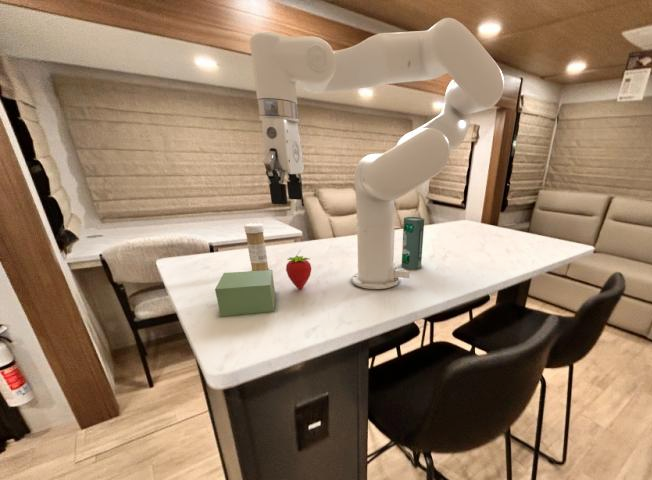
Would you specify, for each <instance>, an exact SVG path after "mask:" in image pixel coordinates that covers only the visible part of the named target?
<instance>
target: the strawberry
mask: <svg viewBox="0 0 652 480" xmlns="http://www.w3.org/2000/svg"><path fill="white" fill-rule="evenodd" d="M301 251H302V250H299V252H298V253H297V254H296V255H295V256H294V257H289V258H287V259H286V260H288V262H287V264H286V266H285V272H286V274H287V276H288V278H289V280H290V281H291V283H292V284H293V285H294V286H295V287H296V288H297V289H298V290H302V289H303V288H304V286H305V285H306V284H307V282H308V281H309V279H310V277H311V273H312V266H311V262H309V260H310V258H309V257H304V255H300V256H299V253H300V252H301Z"/></svg>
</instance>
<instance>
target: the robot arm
mask: <svg viewBox="0 0 652 480" xmlns="http://www.w3.org/2000/svg"><path fill="white" fill-rule="evenodd" d="M249 44H250V45H249V47H250V55H251V62H252V63H251V64H252V71H253V78H254V83H255V84H254V85H255V93H256V94H255V95H256V102H257V109H258V116H259V117H258V118H259V121H261V125H262V126H261V127H262V129H261V130H262V144H263V155H264V159H263V166H264V168H265V174H266V177H267V184H268V185H269V187H268V188H269V193H270V202H271V204H272V205H283V206H284V205H285V206H286V205H287V204H288V199H289V200H299V201H301V200H303V199H304V197H303V186H302V185H303V184H302V176H301V174H302V173H303V172H304V170H305V165H304V158H303V150H302V141H301V136H300V131H299V126H298V124H299V123H300V118H299V117H300V116H299V109H298V108H299V106H298V94H297V84H298V86H299V87H300V88H301V89H302V90H304V91H305V92H307V93H310V94H316V95H318V94H327V93H328V94H329V93H338V92H346V91H353V90H358V89H365V88H375V87H378V86H384V85H391V84H401V83H411V82H421V81H430V80H435V79H437V78H438V79H439V78H440V77H442V76H445V75H446V74H448V75H449V77H450V78H451V79H452V80H451V81H450V82H449V83H448V85H447V88H446V90H445V92H444V93H445V94H444V99H443V104H442V105H443V106H442V109H441V111H440V113H439V114H438V115H437V116H436V117H433V118H432V119H431V120H430V121H428V122H426V123H425V124H423V125H421V126H419V127H417V128H416V129H414V130H411V131H410V132H408V133H406V134H404V135H403V136H402V137H401V138H400V139H399V140H398V141H397V143H396V145H395V146H394V147H392V148H390V149H388V150H386V151H385V152H383V153H381V152H380V153H370V154H368V155H366V156H363V157H362V158H361V159H360V160H359V161H358V163H357V164H356V167H355V170H354V177H353V179H354V180H353V181H354V192H355V199H356V200H355V202H356V219H357V220H356V233H357V235H356V236H357V237H356V239H357V240H356V241H357V243H356V244H357V245H356V246H357V272H356V273H354V274H353V275H352V277H351V278H352V279H351V282H352V283H353V285H355V286H357V287H359V288H362V289H366V290H367V289H368V290H384V289H385V290H386V289H389V288H393V287H395V286H396V285H398V284H399V279H400V278H403V279H410V276H411V271H410V270H406V269H405V268H398V267H396V263H395V262H394V259H395V257H394V253H395V231H396V230H395V225H396V207H395V206H396V205H395V201H396V200H398V199H399V198H402V197H404V196H405V195H407V194H409V193H410V192H412V191H414V190H415V189H417V188H419V187H420V186H422V185H424V184H425V183H427V182H429V181H430V180H432V179H434V178H435V177H436V176H438V175H439V174H440V173H441V172H442V171H443V170H444V169H445V167H446V166H447V163H449V160H450V156H451V155H450V153H451V152H452V151H454V150H455V149H456V148H458V147H459V146H460V145H461V144H462V143H463V141H464V140H465V138H466V137H467V134H468V130H469V127H470V122H471V116H472V114H476V113H479V112H483V111H487V110H490V109H492V108H493V107H494V106H496V104H498V103H499V101H500V100H501V98H502V96H503V93H504V90H505V80H504V74H503V73H502V70H501V68H500V66H499V65H498V63H497V62H496V61H495V60H494V58H493V57H492V56H491V55H490V53H489V52H488V51H487V49H486V48H484V46H483V45H482V44H481V42H480V41H479V40H478V39H477V37H476V36H475V35H474V34H473V33H472V32H471V31H470V30H469V29H468V28H467V27H466V26H465V25H464V24H463V23H462V22H460V21H459V20H457V19H455V18H452V17H444V18H442V19H440V20H438V21H437V22H436V23H435V24H434V25H433V26H431V27H430V28H429V29H427V30H418V31H417V30H416V31H415V30H414V31H401V32H400V31H399V32H380V33H376V34H374V35H372V36H369V37H367V38H366V39H364V40H362V41H361V42H359V43H356V44H355V45H352V46H350V47H347V48H343V49H336V50H333V48H332V46H331V45H330V44H329V42H327V41H326V40H324V39H323V38H321V37H318V36H315V35H313V36H312V35H300V36H297V35H296V36H286V35H285V36H284V35H281V34H279V33H277V32H276V33H275V32H271V31H259V32H257V31H256V32H255V33H253V34H252V35H251V37H250V40H249ZM285 177H286V178H287V181H286V183H285V182H284V181H285Z"/></svg>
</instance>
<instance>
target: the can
mask: <svg viewBox="0 0 652 480" xmlns="http://www.w3.org/2000/svg"><path fill="white" fill-rule="evenodd" d="M402 226H403V227H402V228H403V229H402V247H401V248H402V250H401V267H402V269H405V270H412V271H415V270H420V269H421V268H422V261H423V260H422V259H423V244H424V231H425V218H424V217H418V216H406V217H403V224H402Z"/></svg>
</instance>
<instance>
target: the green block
mask: <svg viewBox="0 0 652 480" xmlns="http://www.w3.org/2000/svg"><path fill="white" fill-rule="evenodd" d="M273 274H274V273H273V270H272V269H269V270H264V271H252V270H251V271H236V272H235V271H232V272H231V271H230V272H223V273H222V275H221V278H220V279H219V281H218V283H217V284H216V287H215V288H214V291H215V295H216V299H217V305H218V309H219V315H220V317H229V316H239V315H241V316H242V315H250V314H259V313H260V314H261V313H269V312H274V311H275V301H276V289H275V288H276V287H275V282H274V281H275V280H274V275H273Z"/></svg>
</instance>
